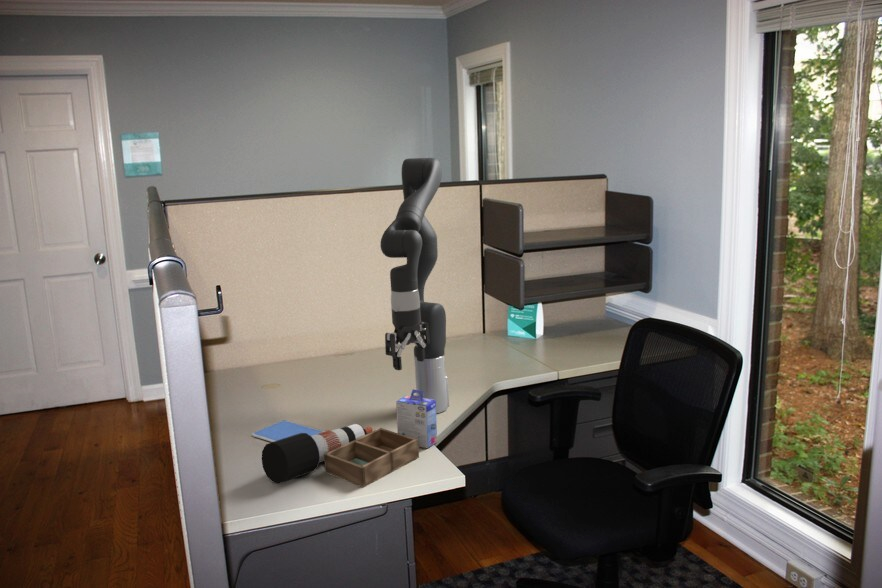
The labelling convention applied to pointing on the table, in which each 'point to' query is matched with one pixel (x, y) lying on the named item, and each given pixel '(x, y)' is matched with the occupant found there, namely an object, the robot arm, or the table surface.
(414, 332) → the robot arm
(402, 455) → the slot caddy
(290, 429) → the blue flat pad
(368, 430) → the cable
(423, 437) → the ink cartridge box
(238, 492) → the table surface
